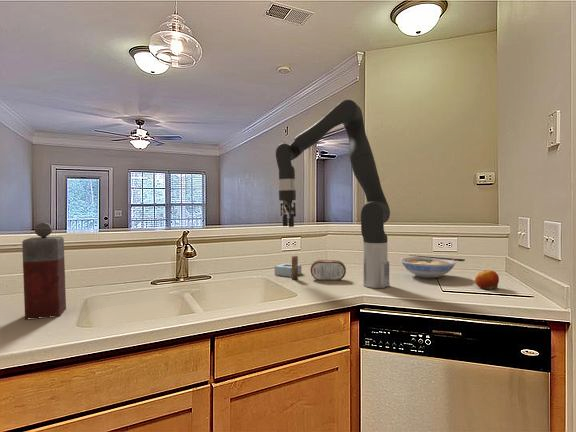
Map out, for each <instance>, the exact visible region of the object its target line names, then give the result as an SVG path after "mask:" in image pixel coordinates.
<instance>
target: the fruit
mask: <svg viewBox="0 0 576 432" xmlns="http://www.w3.org/2000/svg"><path fill="white" fill-rule="evenodd" d="M499 277H500V276H499V275H498V273H497V272H496V271H494V270H491V269H485V270H483V271H479V272H478V273H477V274H476V276H475V278H474V282H475V285H476V286H477V287H478V288H479V289H481V290H492V291H493V289H494V288H495V289H498V286H499V282H500V278H499Z"/></svg>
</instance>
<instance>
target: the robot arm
mask: <svg viewBox="0 0 576 432" xmlns="http://www.w3.org/2000/svg"><path fill="white" fill-rule="evenodd" d="M363 116H364V115H363V112H362V109H361V107H360V106H359V105H358V104H357V102H355V101H354V100H352V99H344V100H342V101H341V102H339V103H338V104H337V105H336V106H334V108H332V109H331V110H330V111H329V112H328V113H327V114H325V115H324V116H323V117H322V118H321V119H319V120H318V121H317V122H316V123H314V124H313V125H312V126H310V127H309V128H307V129H305V130H304V131H303V132H301V133H299V134H298V135H297V136H295V137H294V140H293V142H291V143H289V144H288V143H285V142H284V143H279V144H278V145H277V147H276V149H275V160H276V164H277V167H278V200H279V202H281V203H280V204H279V205H280V208H279V209H280V217H281V218H282V227H288V228H294V226H295V220H294V219H295V218H296V216H297V213H296V202H293V201H296V200H297V194H296V193H297V190H296V189H297V188H296V187H297V183H296V177H295V176H296V174H295V173H296V172H295V171H296V170H295V167H294V166H293V165H292V161H293V160H295V159H297V158H298V157H299V156H300V155H302V154H303V152H304V151H306V150H307V149H309V148H310V147H311V148H312V146H314V145H316V144H317V143H318V142H319V141H321V140H322V139H323V138H324V137H325V135H326V134H327V133H329V132H330V131H331V130H332V129H334V128H336V127H337V126H340V125H343V126H344V129H345V132H346V135H347V137H348V145H349V146H348V148H349V149H348V150H349V151H348V155H349V160H350V165H351V168H352V172H353V175H354V177H355V178H356V180H357V182H358V183H359V185H360V187H361V188H362V190H363V192H364V194H365V198H366V202H365V204H363V206H362V207H361V211H360V226H361V227H360V229H361V236H362V240H363V245H362V247H363V249H362V250H363V252H362V253H363V260H362V261H363V264H362V265H363V272H362V273H363V286H364V287H367V288H373V289H386V288H387V287H389V286H390V261H389V260H388V234H386V232H385V226H384V225H385V224H386V222H388V220H389V219H390V217H391V209H390V206H389V203H388V201H387V199H386V196H385V193H384V191H383V188H382V184H381V179H380V176H379V173H378V170H377V165H376V162H375V161H376V160H375V157H374V154H373V151H372V147H371V145H370V142H369V139H368V136H367V134H366V129H365V122H364V117H363Z"/></svg>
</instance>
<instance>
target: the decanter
mask: <svg viewBox="0 0 576 432" xmlns="http://www.w3.org/2000/svg"><path fill="white" fill-rule="evenodd" d="M33 231H34V233H35V234H36V235H37V236H36V237H35V236H33V237H28V238H25V239H24V240H22V242H21V246H22V249H21V250H22V251H21V252H22V271H23V272H22V273H23V275H22V276H23V298H24V299H23V301H24V302H23V304H24V320H25V319H28V318H39V317H49V318H51V317H50V316H58V317H61V316H62V315H63V313H64V312H65V311H66V310H67V302H66V301H67V298H66V297H67V296H66V272H65V271H66V270H65V269H66V267H65V266H66V265H65V244H64V243H65V240H64V237H63V236H62V235H59V236H58V235H57V236H56V235H55V236H49V235H51V234H52V233H53V226H52V225H51V224H50V223H48V222H39V223H37V224H36V225H35V226H34V230H33ZM61 314H62V315H61ZM39 319H40V318H39Z"/></svg>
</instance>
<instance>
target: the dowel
mask: <svg viewBox="0 0 576 432" xmlns="http://www.w3.org/2000/svg"><path fill="white" fill-rule="evenodd" d="M298 261H299V257H298V255H292V256H291V264H292V277H291V280H292V281H293V280H294V281H297V280H299V274H298V265H299V262H298Z"/></svg>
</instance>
